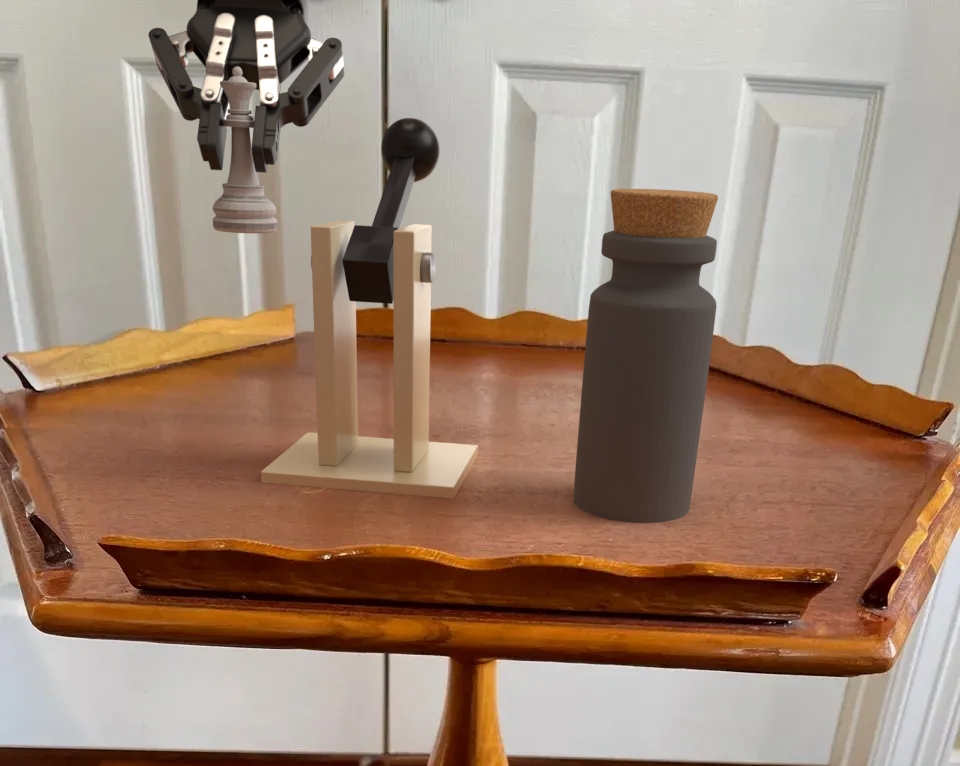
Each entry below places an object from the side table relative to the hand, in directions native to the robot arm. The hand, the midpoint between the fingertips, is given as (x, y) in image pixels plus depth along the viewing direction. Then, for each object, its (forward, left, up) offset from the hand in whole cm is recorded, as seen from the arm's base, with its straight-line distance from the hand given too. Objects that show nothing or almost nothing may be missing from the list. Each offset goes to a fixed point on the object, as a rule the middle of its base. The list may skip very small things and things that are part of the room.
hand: (236, 161), depth 67 cm
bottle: (+31, -16, -15) cm, 38 cm away
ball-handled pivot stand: (+17, -16, -15) cm, 28 cm away
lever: (+16, -11, -3) cm, 20 cm away
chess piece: (-1, +2, -5) cm, 5 cm away
